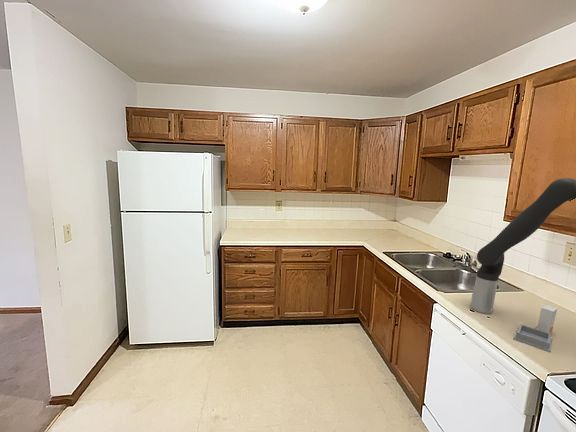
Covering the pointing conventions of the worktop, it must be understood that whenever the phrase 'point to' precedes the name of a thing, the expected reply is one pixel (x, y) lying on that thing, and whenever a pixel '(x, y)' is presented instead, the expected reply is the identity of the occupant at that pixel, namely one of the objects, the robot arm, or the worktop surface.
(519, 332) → the square gray tray
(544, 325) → the skincare box
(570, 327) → the worktop surface
